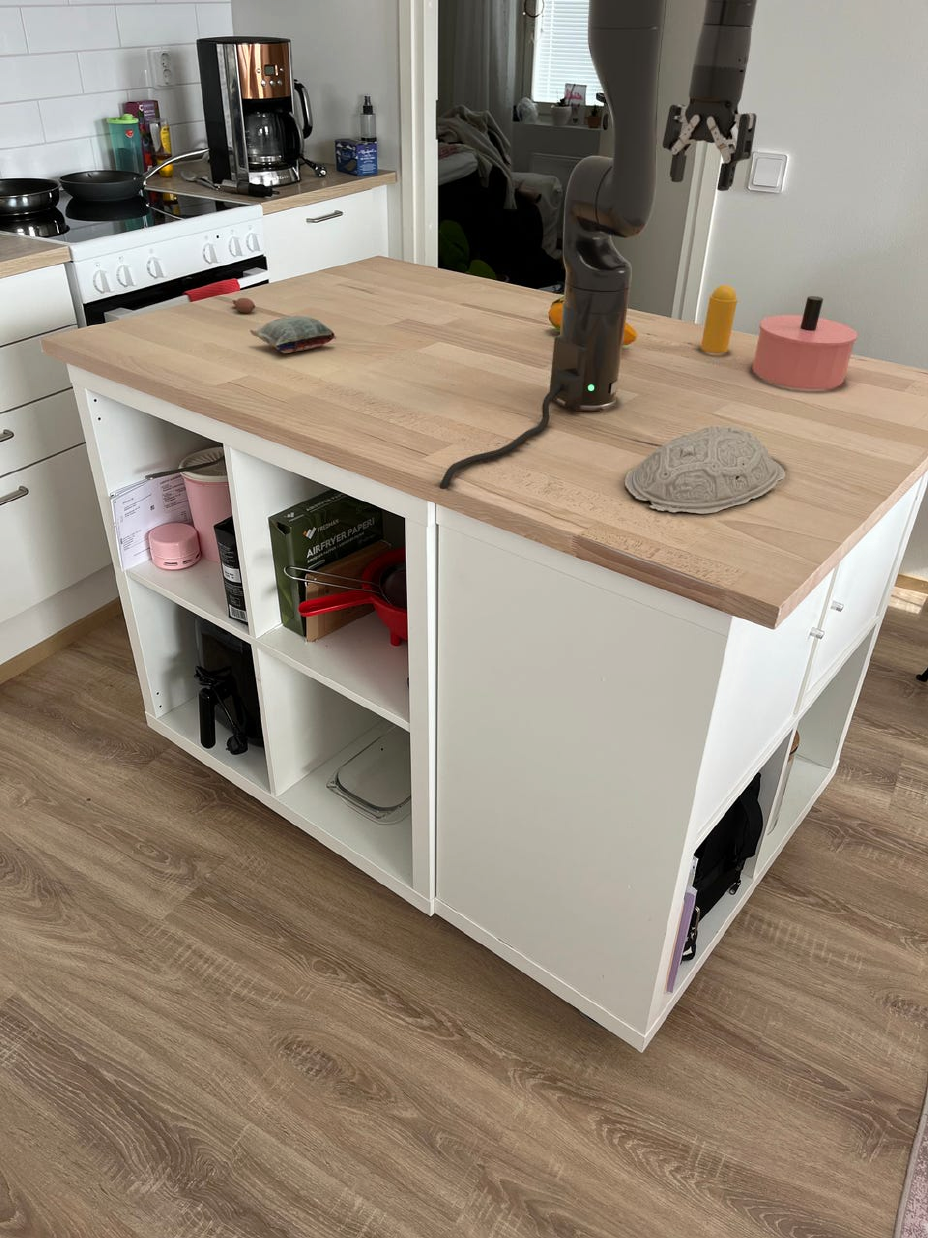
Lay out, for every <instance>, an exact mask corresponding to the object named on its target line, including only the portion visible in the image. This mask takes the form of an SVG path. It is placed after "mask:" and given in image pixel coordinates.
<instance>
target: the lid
mask: <svg viewBox="0 0 928 1238" xmlns="http://www.w3.org/2000/svg"><path fill="white" fill-rule="evenodd" d="M823 302H824V298H823V297H821V296H816V295H809V296H807V297H806V303H805V306H804V310H803V314H802V315H797V314H781V315H771V316H767V317H765V318H762V319H761V320H760V322H759V324H758V328H759V330H760V329H761V330H762V331H763V332H764V333H766V334H768V335H770V336H772V337H775V338H778V339H781V340H785V341H789V342H793V343H798V344H805V345H814V346H840V345H847V344H850V343H853V342H854V343H855V342H856V341H857V339H858V332H857V331H856V330H855V329H853V328H852V327H851V326H848V325H846V324H843V323H841V322H838V321H836V320H835V321H834V320H831V319H826V318H822V317H820V314H821V310H822V307H823Z"/></svg>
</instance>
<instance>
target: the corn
mask: <svg viewBox="0 0 928 1238" xmlns="http://www.w3.org/2000/svg"><path fill="white" fill-rule="evenodd" d="M563 300H564V295H562V296H561V297H559V298H557V299H556V300H554V301H552V303H551V305H550V309H549V310H548V320H549V322H550V324H551V325H552V326H553V328H555V330H556V331H557V332H559V333H560V331H561V320H562V310H563ZM637 337H638V333H637V331H636V329H635V328H633V327H632V326H631V325H630V324H629V323H628V322H626V323H625V330H624V338H623V345H622V346H629V345H631V344H632V343H634V342H635V341H636V340H637Z"/></svg>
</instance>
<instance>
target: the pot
mask: <svg viewBox="0 0 928 1238" xmlns="http://www.w3.org/2000/svg"><path fill="white" fill-rule="evenodd" d="M854 345H855V341H854V342H853V343H850V344H847V345H840V346H814V345H805V344H798V343H793V342H789V341H785V340H781V339H778V338H775V337H772V336H770V335H768V334H766V333H764V332H763V331H762V330H761V329H760V328H759V335H758V338H757V344H756V347H755V352H754V358H753V363H752V372H753V373H754V374H755V375H757V376H758V377H759V378H761V379H762V380H764V381H765V380H766V381H768V382H770V383H773V384H776V385H781V386H785V387H790V388H795V389H796V388H797V389H806V390H827V389H832V388H835V387H836V388H837V387H839V386H841V385H842V384H843V382H844V381H845V377H846V374H847V370H848V367H849V363H850V359H851V355H852V353H853V352H852V351H853V349H854Z"/></svg>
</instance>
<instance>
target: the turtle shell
mask: <svg viewBox="0 0 928 1238" xmlns="http://www.w3.org/2000/svg"><path fill="white" fill-rule="evenodd" d="M737 477H738V478H737ZM785 477H786V472H785V470H784V468H783V467H782V466H781V464H780V463H778V462H776V461H775V460H774V459H772V457H771V455H770V453H769V451H768V449H767V447H766V446H765V445H764V444H763V443H762V442H761V440H760V439H759V438H758V436H757V435H754V434H753V433H751V432H750V431H746V430H744V429H740V428H739V427H738V426H729V427H728V426H718V425H712V426H710V427H704V428H702V429H699V430H697V431H694V432H691V433H688V434H684V433H683V434H680V435H678V436H675V437H674V438H673V439H671V440H670V441H668V442H666V443H665V444H663V445H662V446H660V447H658V448H657V449H656V450H654V451H653V452H652V453H651V454H649V455H648V456H647V457H645V458H644V459H643V460H642V461H641V463H640V464H639V465H638V466H637V467H634V468H631V469H630V471H628V472H627V474H626V476H625V479H624V485H625V487H626V489H627V490H628V493H630V494H631V495H632V496H634V498H635V499H637V500H639V501H645V502H647V501H649V502H650V503H651V504H650V505H648V507H649V508H651V509H653V510H654V509H655V510H657V511H661V512H664V511H668V512H669V513H677V512H687V513H693V514H694V513H695V514H701V515H702V514H703V515H704V514H712V513H717V512H719V511H722V510H724V509H728V508H731V507H735V506H739V505H744V504H746V503H748V502H749V501H750V500H751V499H753V500H755V499H757V498H759V497H761V496H764V494H766V493H767V492H769V491H770V490H771V489H772V488H774V487H775V486H776V485H778V482H779V481H782V480H783V479H784V478H785Z"/></svg>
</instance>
